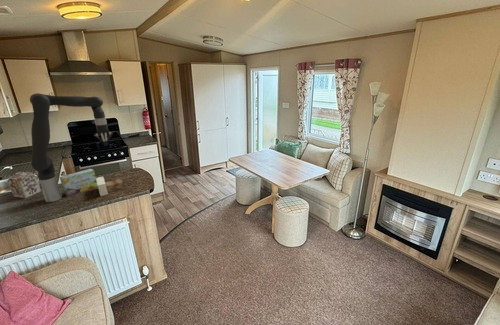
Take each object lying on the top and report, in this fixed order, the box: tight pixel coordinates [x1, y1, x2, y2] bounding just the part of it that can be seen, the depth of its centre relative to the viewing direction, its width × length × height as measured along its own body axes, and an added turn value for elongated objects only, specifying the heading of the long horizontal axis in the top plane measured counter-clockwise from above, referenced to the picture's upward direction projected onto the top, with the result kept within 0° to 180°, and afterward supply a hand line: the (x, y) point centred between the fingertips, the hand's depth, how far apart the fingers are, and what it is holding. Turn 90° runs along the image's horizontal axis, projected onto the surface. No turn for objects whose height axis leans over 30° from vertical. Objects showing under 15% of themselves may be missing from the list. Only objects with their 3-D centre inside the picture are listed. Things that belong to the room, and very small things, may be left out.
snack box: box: [59, 168, 98, 197], centre depth 182 cm, size 21×6×15 cm, turn 143°
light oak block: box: [105, 178, 126, 193], centre depth 188 cm, size 12×8×6 cm, turn 126°
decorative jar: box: [7, 171, 42, 199], centre depth 176 cm, size 12×12×18 cm
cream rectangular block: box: [96, 176, 109, 197], centre depth 182 cm, size 5×16×9 cm, turn 35°
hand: (106, 145), depth 185 cm, fingers closed
